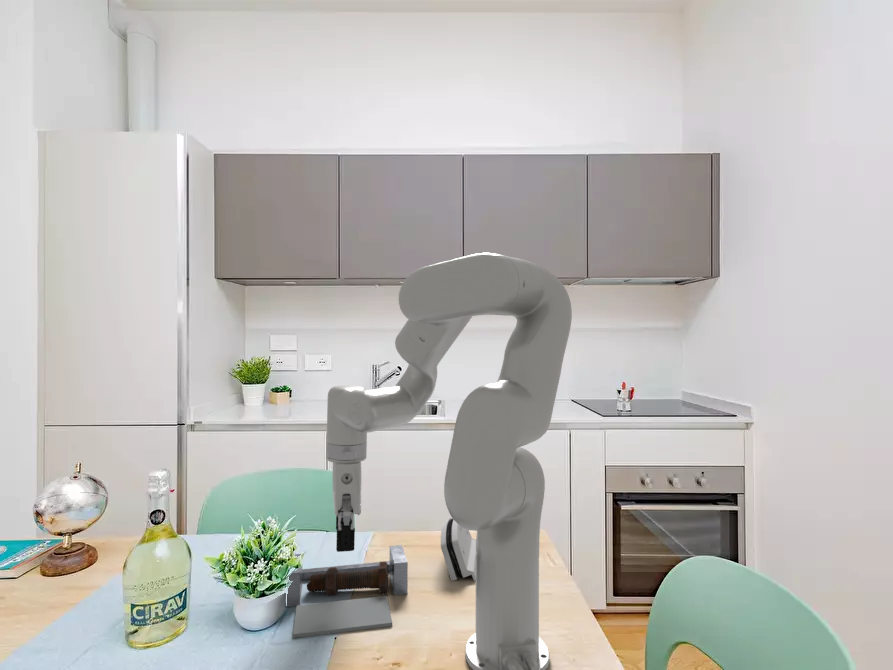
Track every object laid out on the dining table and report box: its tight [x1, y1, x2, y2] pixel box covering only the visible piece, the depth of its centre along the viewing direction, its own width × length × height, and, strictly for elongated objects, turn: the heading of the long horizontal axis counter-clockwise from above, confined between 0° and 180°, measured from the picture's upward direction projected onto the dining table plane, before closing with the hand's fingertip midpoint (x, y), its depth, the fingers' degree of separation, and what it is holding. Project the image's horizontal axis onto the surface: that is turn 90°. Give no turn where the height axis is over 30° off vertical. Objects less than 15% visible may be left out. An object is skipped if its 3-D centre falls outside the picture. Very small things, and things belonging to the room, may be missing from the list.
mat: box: [292, 595, 393, 639], centre depth 89 cm, size 9×16×1 cm, turn 103°
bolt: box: [306, 560, 390, 596], centre depth 98 cm, size 6×5×15 cm
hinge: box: [440, 517, 476, 582], centre depth 111 cm, size 17×5×10 cm, turn 174°
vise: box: [286, 544, 409, 608], centre depth 100 cm, size 11×22×6 cm, turn 102°
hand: (344, 539), depth 99 cm, fingers open, 9 cm apart
